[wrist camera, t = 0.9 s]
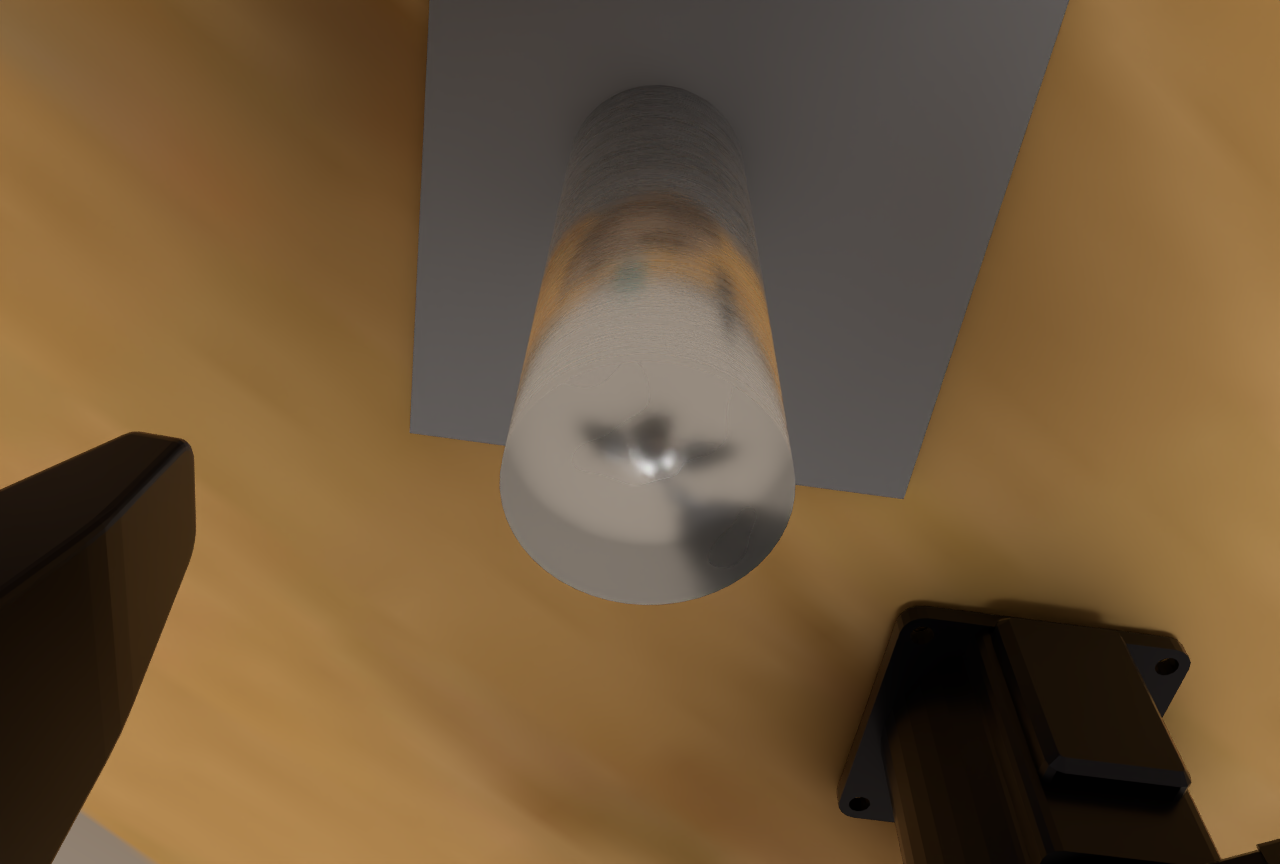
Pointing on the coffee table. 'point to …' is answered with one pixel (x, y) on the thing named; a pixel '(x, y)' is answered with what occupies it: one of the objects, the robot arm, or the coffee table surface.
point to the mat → (776, 179)
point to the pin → (650, 366)
